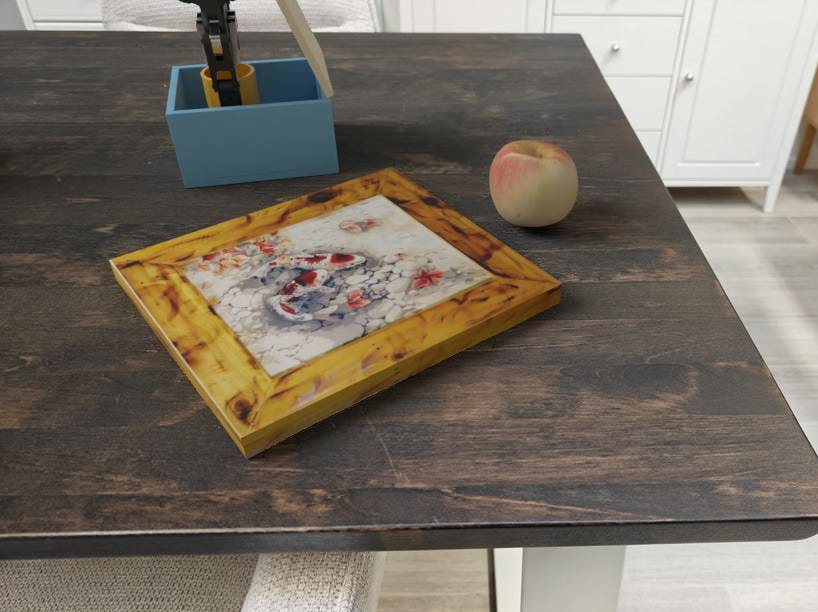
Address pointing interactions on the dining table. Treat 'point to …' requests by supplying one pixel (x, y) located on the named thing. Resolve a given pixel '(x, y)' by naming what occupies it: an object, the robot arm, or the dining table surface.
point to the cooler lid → (306, 42)
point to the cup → (246, 89)
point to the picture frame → (326, 301)
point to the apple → (533, 183)
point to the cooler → (253, 127)
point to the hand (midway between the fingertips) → (235, 111)
